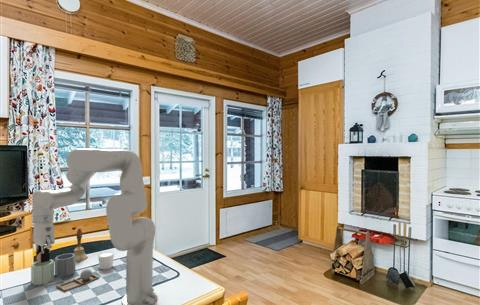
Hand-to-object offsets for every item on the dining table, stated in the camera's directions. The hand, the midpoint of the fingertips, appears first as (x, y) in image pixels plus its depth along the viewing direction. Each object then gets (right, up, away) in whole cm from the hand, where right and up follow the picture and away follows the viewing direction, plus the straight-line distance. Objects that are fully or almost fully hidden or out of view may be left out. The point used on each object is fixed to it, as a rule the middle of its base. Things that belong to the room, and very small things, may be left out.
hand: (42, 259), depth 120 cm
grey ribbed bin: (+5, -10, +7) cm, 13 cm away
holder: (+17, -10, -2) cm, 19 cm away
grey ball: (+18, -9, +1) cm, 21 cm away
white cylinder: (+20, -10, +15) cm, 27 cm away
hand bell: (0, -10, +27) cm, 29 cm away
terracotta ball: (0, -1, 0) cm, 1 cm away
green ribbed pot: (0, -10, 0) cm, 10 cm away
